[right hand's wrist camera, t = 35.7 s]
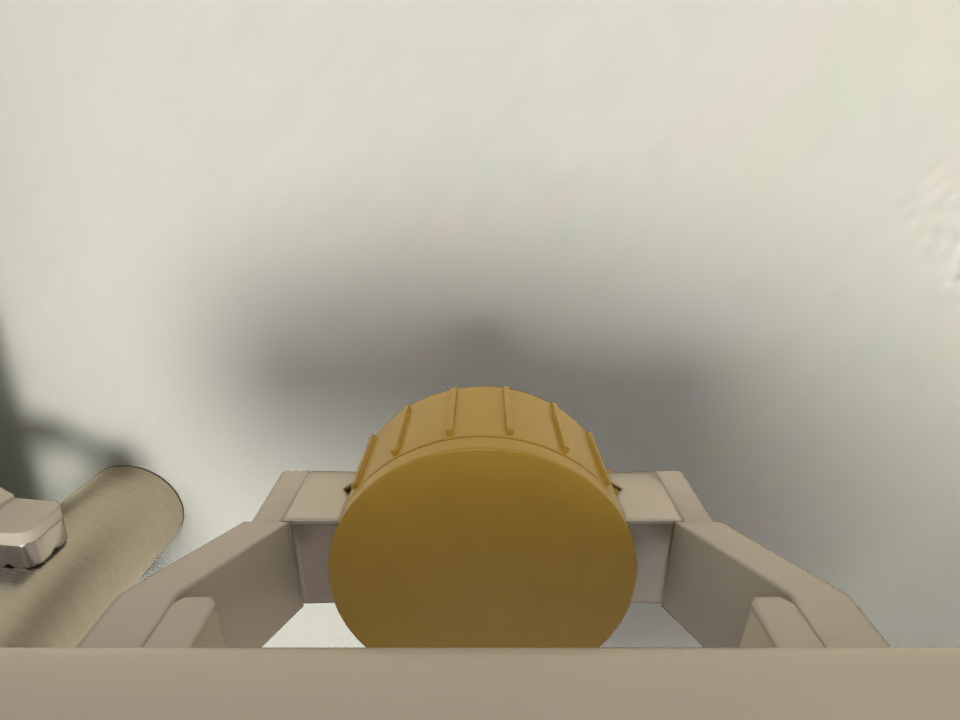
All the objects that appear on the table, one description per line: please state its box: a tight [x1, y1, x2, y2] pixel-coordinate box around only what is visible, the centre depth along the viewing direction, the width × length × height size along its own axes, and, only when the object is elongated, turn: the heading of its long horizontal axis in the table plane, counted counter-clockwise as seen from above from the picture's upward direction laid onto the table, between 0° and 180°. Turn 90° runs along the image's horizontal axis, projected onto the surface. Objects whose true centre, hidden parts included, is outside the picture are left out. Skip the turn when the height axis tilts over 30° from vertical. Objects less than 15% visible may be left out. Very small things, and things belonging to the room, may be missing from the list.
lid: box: [328, 386, 637, 648], centre depth 10 cm, size 5×5×2 cm
